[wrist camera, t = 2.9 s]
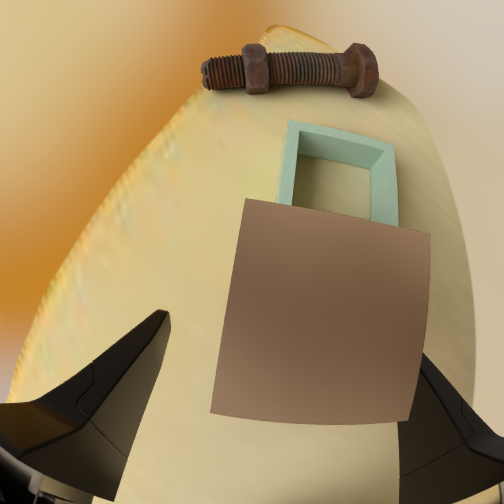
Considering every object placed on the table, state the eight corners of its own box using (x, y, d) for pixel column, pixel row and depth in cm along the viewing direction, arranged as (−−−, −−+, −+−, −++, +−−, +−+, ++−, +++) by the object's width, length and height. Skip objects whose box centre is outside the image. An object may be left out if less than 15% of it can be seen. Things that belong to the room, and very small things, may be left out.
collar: (378, 258, 19) (398, 248, 16) (270, 240, 19) (274, 226, 16) (378, 163, 21) (393, 144, 18) (283, 143, 21) (288, 119, 18)
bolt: (208, 97, 24) (354, 91, 24) (205, 112, 21) (375, 107, 21) (201, 43, 20) (357, 41, 20) (195, 47, 16) (381, 48, 16)
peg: (302, 353, 17) (407, 420, 5) (235, 344, 17) (210, 412, 5) (311, 288, 18) (429, 234, 6) (246, 278, 18) (245, 198, 6)
